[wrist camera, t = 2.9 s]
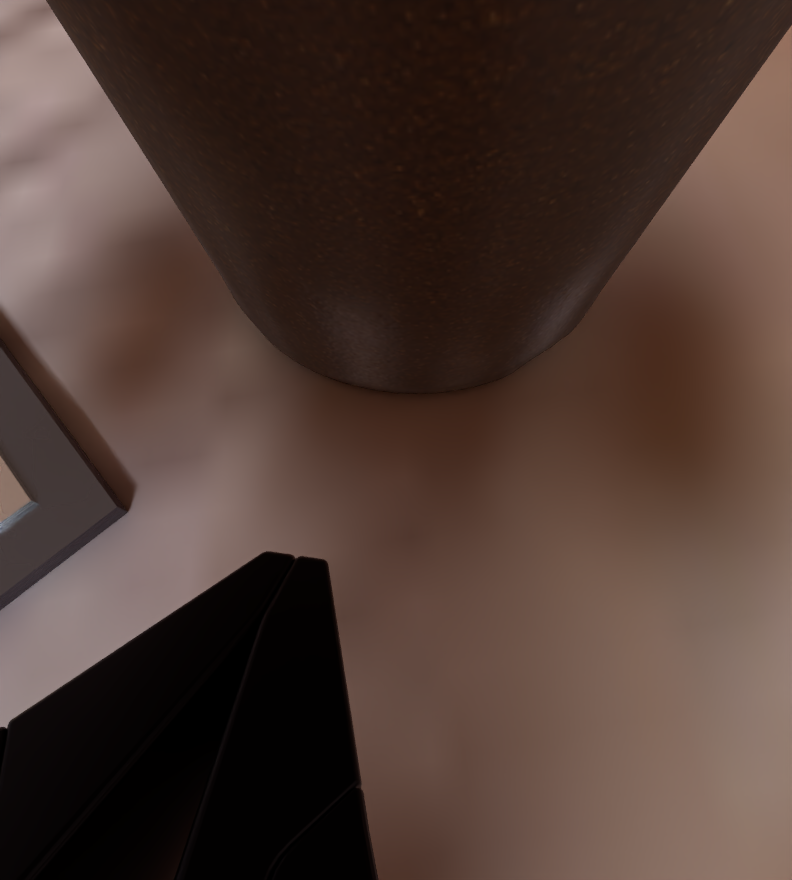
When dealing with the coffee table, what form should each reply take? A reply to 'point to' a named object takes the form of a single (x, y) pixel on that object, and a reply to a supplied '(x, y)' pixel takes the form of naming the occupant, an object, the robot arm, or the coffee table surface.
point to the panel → (42, 486)
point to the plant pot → (421, 157)
